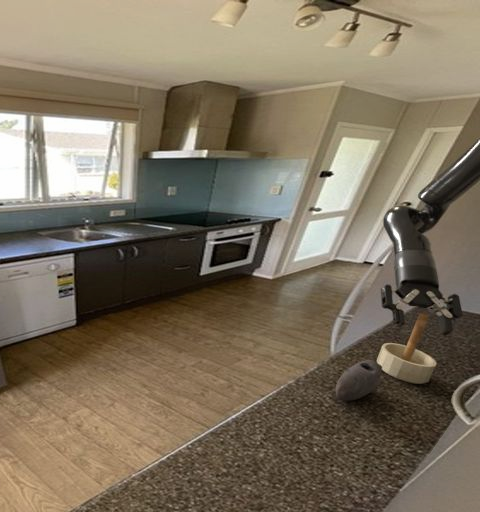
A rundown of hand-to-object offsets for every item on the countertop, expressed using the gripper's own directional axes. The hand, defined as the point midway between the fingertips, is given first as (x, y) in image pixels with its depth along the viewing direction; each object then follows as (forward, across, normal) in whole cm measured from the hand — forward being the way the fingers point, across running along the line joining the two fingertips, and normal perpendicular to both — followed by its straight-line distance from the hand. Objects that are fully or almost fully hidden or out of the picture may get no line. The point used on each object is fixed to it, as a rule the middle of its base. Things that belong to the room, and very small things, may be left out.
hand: (422, 329), depth 70 cm
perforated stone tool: (+20, -14, 0) cm, 24 cm away
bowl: (+9, 0, +11) cm, 14 cm away
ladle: (+8, -1, +10) cm, 13 cm away
